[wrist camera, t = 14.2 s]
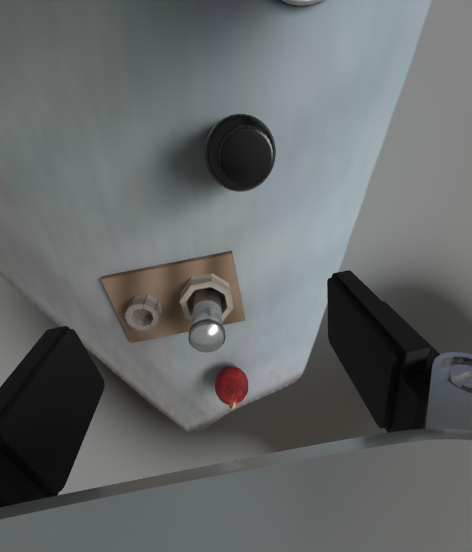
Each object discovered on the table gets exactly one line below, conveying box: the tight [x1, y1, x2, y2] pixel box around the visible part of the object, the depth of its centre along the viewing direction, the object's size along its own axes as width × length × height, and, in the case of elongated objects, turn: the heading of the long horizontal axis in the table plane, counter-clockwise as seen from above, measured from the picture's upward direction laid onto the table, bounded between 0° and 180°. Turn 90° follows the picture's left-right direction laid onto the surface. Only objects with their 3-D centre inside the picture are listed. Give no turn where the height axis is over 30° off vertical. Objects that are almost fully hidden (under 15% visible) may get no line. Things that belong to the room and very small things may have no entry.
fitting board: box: [101, 251, 245, 343], centre depth 41 cm, size 19×12×4 cm, turn 100°
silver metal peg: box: [189, 287, 225, 352], centre depth 37 cm, size 4×4×10 cm
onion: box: [215, 367, 248, 409], centre depth 47 cm, size 6×6×8 cm
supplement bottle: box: [205, 114, 276, 192], centre depth 28 cm, size 7×7×12 cm
